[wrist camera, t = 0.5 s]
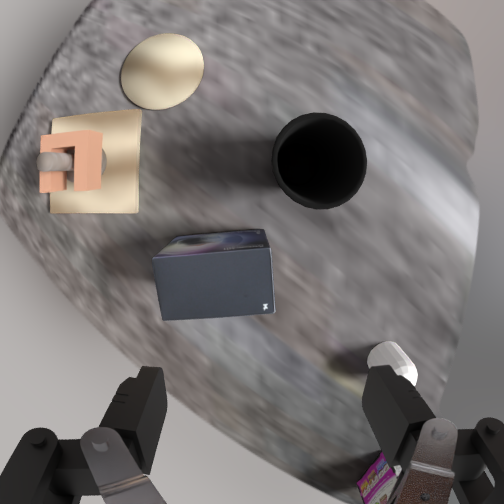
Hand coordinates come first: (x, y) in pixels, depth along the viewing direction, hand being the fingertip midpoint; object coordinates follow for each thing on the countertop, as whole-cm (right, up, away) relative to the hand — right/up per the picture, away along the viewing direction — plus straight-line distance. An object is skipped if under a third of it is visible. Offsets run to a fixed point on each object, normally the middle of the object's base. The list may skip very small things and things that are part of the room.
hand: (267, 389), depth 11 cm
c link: (-19, +15, +19) cm, 31 cm away
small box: (-4, +5, +27) cm, 27 cm away
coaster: (-11, +26, +21) cm, 35 cm away
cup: (+4, +15, +24) cm, 29 cm away
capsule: (+18, -10, +31) cm, 37 cm away
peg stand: (-20, +16, +23) cm, 34 cm away
